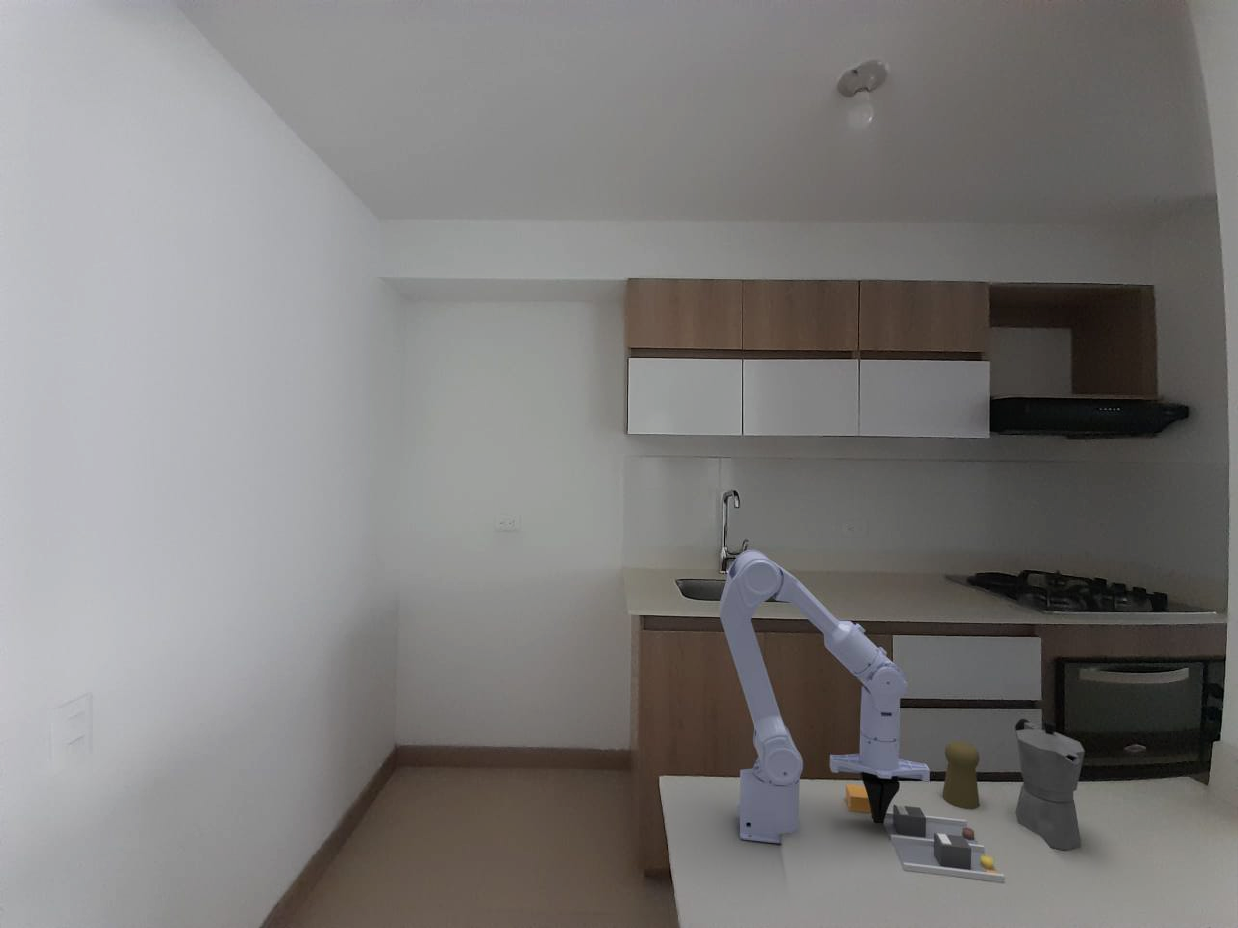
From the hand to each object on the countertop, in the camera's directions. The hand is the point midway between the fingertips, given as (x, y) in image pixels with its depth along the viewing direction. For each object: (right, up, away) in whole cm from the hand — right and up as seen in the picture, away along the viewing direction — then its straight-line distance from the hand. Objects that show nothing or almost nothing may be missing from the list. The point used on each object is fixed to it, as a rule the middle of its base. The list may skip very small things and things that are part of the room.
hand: (877, 820), depth 100 cm
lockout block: (0, -3, +6) cm, 7 cm away
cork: (+18, -3, +9) cm, 20 cm away
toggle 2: (+7, -1, -8) cm, 11 cm away
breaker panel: (+7, -3, -5) cm, 9 cm away
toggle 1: (+5, -1, -1) cm, 5 cm away
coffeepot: (+28, -4, +3) cm, 28 cm away
